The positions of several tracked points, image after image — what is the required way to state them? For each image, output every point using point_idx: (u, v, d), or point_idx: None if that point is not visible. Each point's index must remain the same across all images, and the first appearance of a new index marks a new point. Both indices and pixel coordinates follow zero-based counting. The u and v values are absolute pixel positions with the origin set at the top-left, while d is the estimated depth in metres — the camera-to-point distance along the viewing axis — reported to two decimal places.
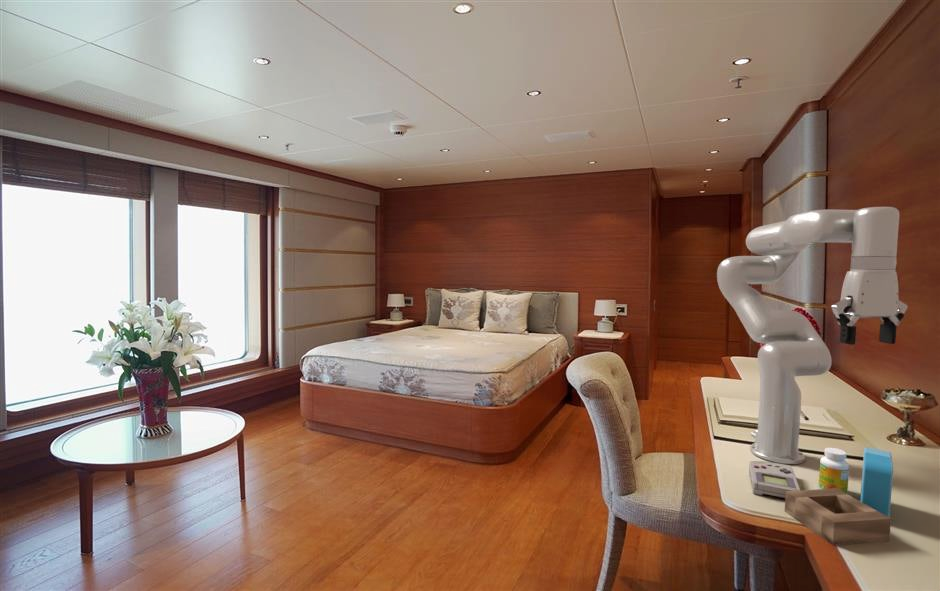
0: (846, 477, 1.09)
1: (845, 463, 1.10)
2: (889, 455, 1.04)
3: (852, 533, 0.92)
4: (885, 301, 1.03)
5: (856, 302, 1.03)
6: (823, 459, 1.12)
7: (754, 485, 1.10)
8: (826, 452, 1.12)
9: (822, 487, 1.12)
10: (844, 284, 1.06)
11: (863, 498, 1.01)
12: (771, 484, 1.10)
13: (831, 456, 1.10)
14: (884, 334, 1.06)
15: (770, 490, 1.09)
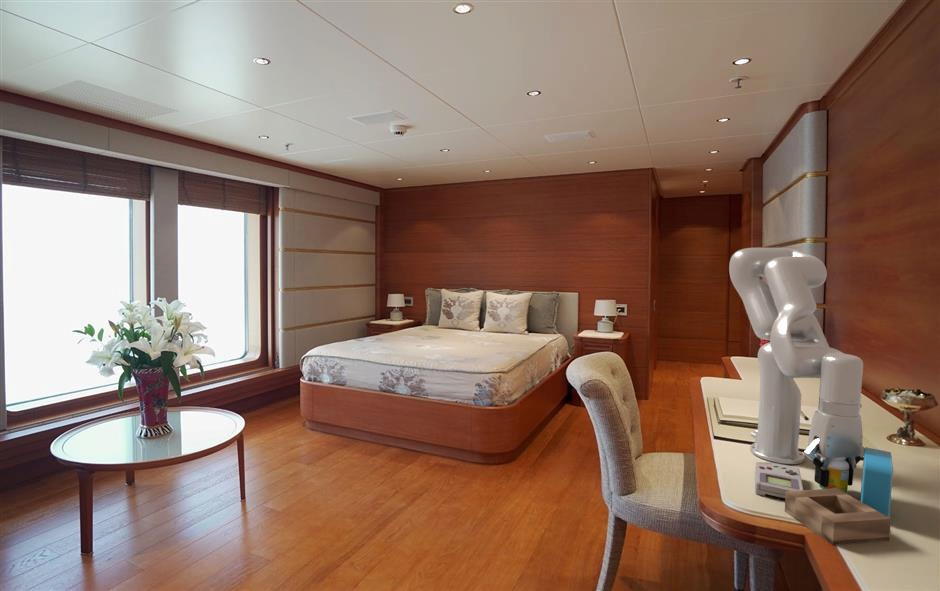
0: (846, 477, 1.09)
1: (845, 463, 1.10)
2: (889, 455, 1.04)
3: (852, 533, 0.92)
4: (850, 444, 1.09)
5: (822, 444, 1.09)
6: None
7: (756, 485, 1.10)
8: None
9: (822, 487, 1.12)
10: (812, 424, 1.12)
11: (863, 498, 1.01)
12: (774, 484, 1.09)
13: None
14: None
15: (773, 491, 1.09)
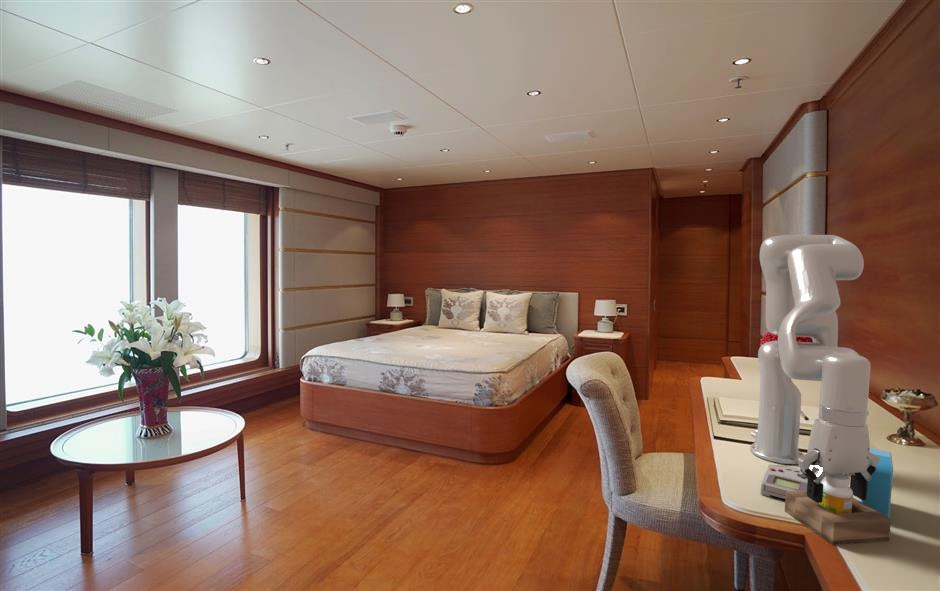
0: (850, 506, 0.95)
1: (848, 490, 0.96)
2: (889, 455, 1.04)
3: (852, 533, 0.92)
4: (855, 457, 0.95)
5: (823, 458, 0.95)
6: (823, 485, 0.98)
7: (761, 486, 1.10)
8: (826, 477, 0.97)
9: None
10: (811, 434, 0.98)
11: None
12: (780, 486, 1.09)
13: (833, 481, 0.96)
14: (855, 487, 0.98)
15: (778, 492, 1.08)
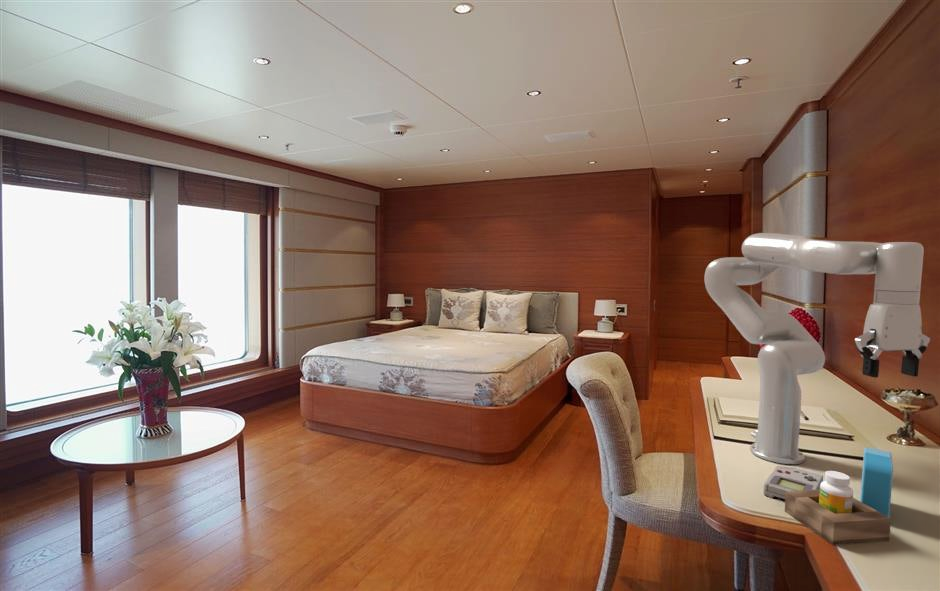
0: (850, 505, 0.95)
1: (849, 489, 0.96)
2: (889, 455, 1.04)
3: (852, 533, 0.92)
4: (908, 335, 1.04)
5: (880, 336, 1.04)
6: (824, 484, 0.98)
7: (764, 486, 1.10)
8: (827, 476, 0.97)
9: None
10: (867, 317, 1.07)
11: (863, 498, 1.01)
12: (783, 487, 1.08)
13: (834, 481, 0.96)
14: (906, 366, 1.07)
15: (780, 493, 1.08)
